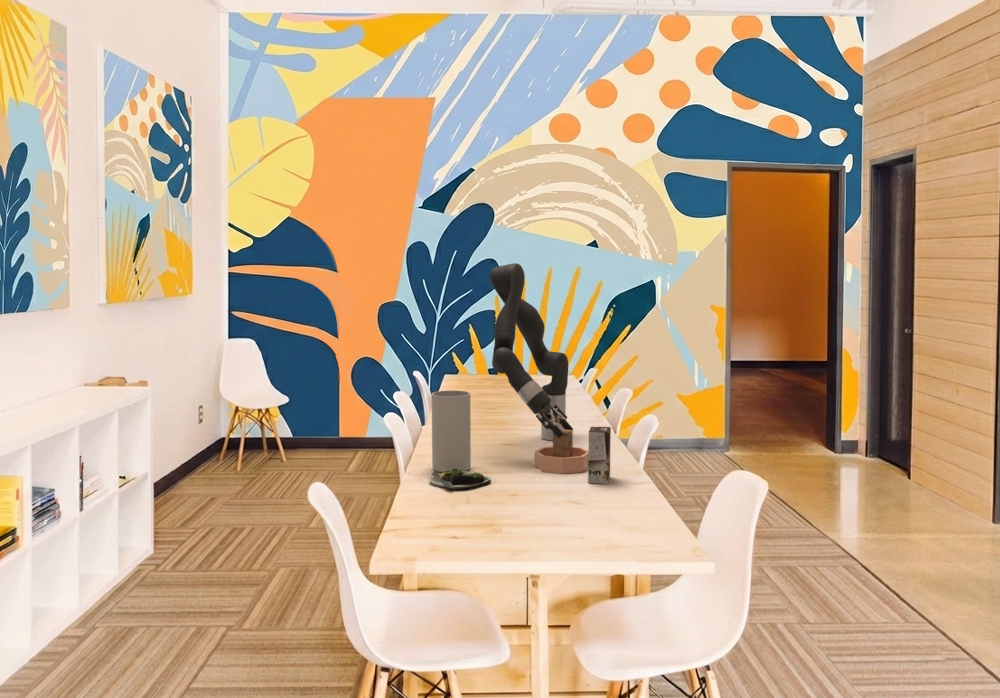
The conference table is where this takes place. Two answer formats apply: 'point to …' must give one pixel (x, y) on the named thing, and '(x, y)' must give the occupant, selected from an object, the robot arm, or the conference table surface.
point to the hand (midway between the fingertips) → (566, 433)
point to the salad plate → (459, 480)
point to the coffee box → (599, 455)
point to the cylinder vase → (451, 430)
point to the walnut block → (563, 444)
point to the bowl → (561, 461)
